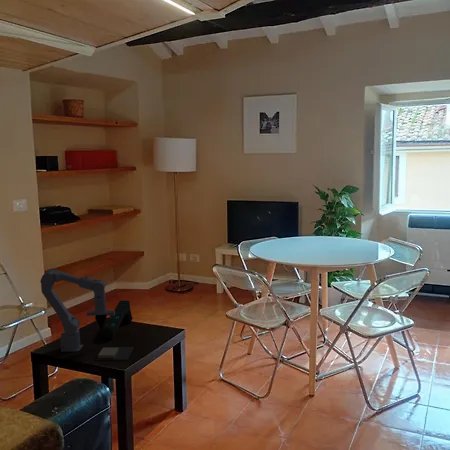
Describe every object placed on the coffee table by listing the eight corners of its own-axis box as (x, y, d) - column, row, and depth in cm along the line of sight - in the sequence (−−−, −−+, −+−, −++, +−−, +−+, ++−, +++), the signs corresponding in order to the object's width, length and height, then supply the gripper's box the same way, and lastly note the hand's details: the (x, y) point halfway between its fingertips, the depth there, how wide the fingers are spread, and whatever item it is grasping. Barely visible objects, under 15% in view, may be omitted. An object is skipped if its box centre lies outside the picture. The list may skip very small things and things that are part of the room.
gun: (133, 318, 294) (129, 297, 287) (117, 350, 268) (112, 329, 261) (123, 317, 295) (119, 297, 288) (106, 350, 269) (100, 329, 262)
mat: (95, 360, 238) (95, 359, 238) (103, 348, 253) (103, 347, 253) (127, 360, 238) (127, 359, 238) (133, 348, 253) (133, 347, 253)
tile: (103, 350, 249) (98, 358, 240) (103, 347, 248) (98, 355, 240) (118, 350, 248) (114, 358, 240) (118, 347, 248) (113, 355, 239)
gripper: (115, 301, 255) (117, 325, 257) (88, 301, 255) (90, 325, 257) (112, 305, 248) (114, 330, 250) (84, 305, 248) (86, 330, 250)
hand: (101, 328), depth 253 cm, fingers closed
